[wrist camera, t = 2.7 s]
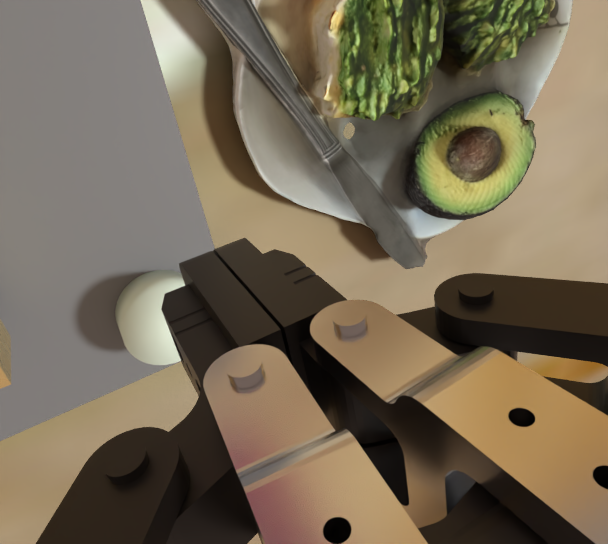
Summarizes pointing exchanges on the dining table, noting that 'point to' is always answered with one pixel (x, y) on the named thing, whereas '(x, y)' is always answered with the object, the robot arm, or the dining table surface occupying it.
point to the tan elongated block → (5, 357)
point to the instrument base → (87, 205)
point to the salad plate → (391, 104)
